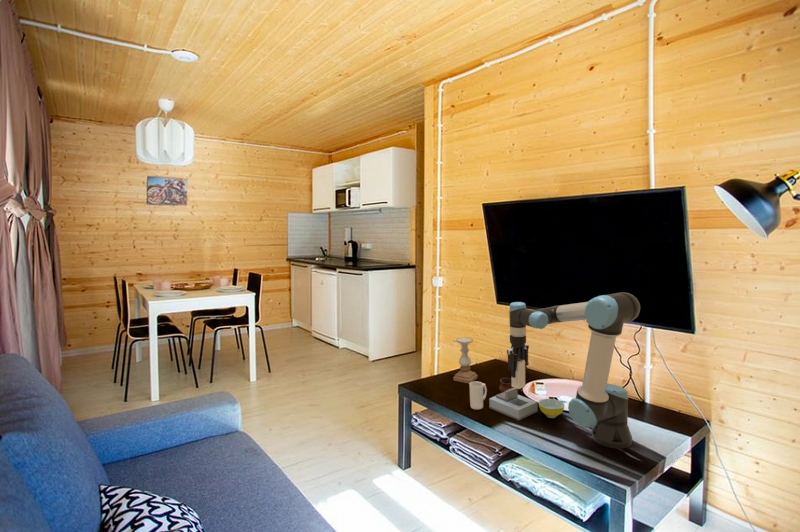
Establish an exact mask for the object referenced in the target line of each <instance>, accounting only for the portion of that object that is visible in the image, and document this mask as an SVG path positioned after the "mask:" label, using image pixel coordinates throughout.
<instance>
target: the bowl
mask: <svg viewBox="0 0 800 532" xmlns="http://www.w3.org/2000/svg"><path fill="white" fill-rule="evenodd" d="M538 409H539V410H540V411H541V412H542V413H543V414H544V415H545V416H546V418H549V419H555V418H557V417H559V415H561V414H562V413H563V412H564V409H565V404H564V402H562V401H561V400H558V399H553V398H543V399H540V400H538Z"/></svg>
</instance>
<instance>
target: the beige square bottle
mask: <svg viewBox="0 0 800 532" xmlns="http://www.w3.org/2000/svg"><path fill="white" fill-rule="evenodd" d="M525 363H526V362H525V360H521V359H520V357H518V361H517V368H516V371H517V377H518V384H517V385H516V384H513V383H512V387H515V388H517V389H518V390H521V389H523V388H525V387H526V368H525ZM511 378H512V376H511Z"/></svg>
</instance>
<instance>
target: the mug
mask: <svg viewBox="0 0 800 532" xmlns="http://www.w3.org/2000/svg"><path fill="white" fill-rule="evenodd" d="M468 384H469V403H470V404H469V405H470V408H471V409H473V410H481V409H482V410H483V408H484V401H485V400H486V398H487V392H488V389H487V386H486V383H483V382H481V381H476V380H474V381H473V382H470V383H468Z"/></svg>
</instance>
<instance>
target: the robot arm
mask: <svg viewBox="0 0 800 532" xmlns="http://www.w3.org/2000/svg"><path fill="white" fill-rule="evenodd" d="M640 311H641V304H640V302H639V300H638V298H637V297H636V296H634V295H633V294H631V293H629V292H620V291H619V292H616V293H610V294H603V295H598V296H595V297H593V298H591V299H590V300H588V301H585V302H577V303H569V304H562V305H553V306H549V307H545V308H544V307H543V308H540V309H539V308H537V309H529V308H527V306H526V303H525V302H522V301H515V302H514V301H513V302H511V303H510V304H509V310H508V313H509V343H510V344H511V346H510V349H507V350H506V353H507V370H509V371H510V372H511V376H512V377H511V379H512V383H513V384H516V385H517V384H518V377H517V371H516V368H517V361H518V357H520V359H521V360H525V369H527V368H528V365H529V348H530V346H529V345H527V344H526V343H527V327H530V328H533V329H539V330H543V329H544V328H546V327H547V326H548V325H550V324H557V323H566V322H567V323H568V322H577V321H586V323H587V324H588V326H587V328H588V329H589V330H590V331H591V333H590V339H589V345H588V350H587V354H586V355H587V357H586V362H585V367H584V371H583V372H584V373H583V378H582V385H580V386H578V387H577V389H576V394H575V397H574V398H572V399H571V400H569V402H568V407H567V409H568V412H569V415H570V417H571V419H572V420H573V421H574V423H576V424H577V425H578V426H579V427H582V428H585V429H588V428H592V430H591V438H592V440H593V441H594V442H595V443H596V444H598V445H601V446H602V447H603V446H604V447H606V448H610V449H616V450H617V449H627V448H629V447H631V446H632V445H633V436H632V433H631V431H630V426H629V424H628V423H629V422H628V416H629V414H628V411H629V407H628V406H629V393H628V391H627V389H626V388H624V387H623V386H620V385H617V384H612V383H608V382H609V375H610V371H611V365H612V362H613V361H612V359H613V356H614V355H613V354H614V349H615V344H616V339H617V337H619V336H621V335H622V332H623V328H624V324H627V323H630V322H633V321H634V320H635V319H636V318H638V317H639V314H640Z"/></svg>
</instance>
